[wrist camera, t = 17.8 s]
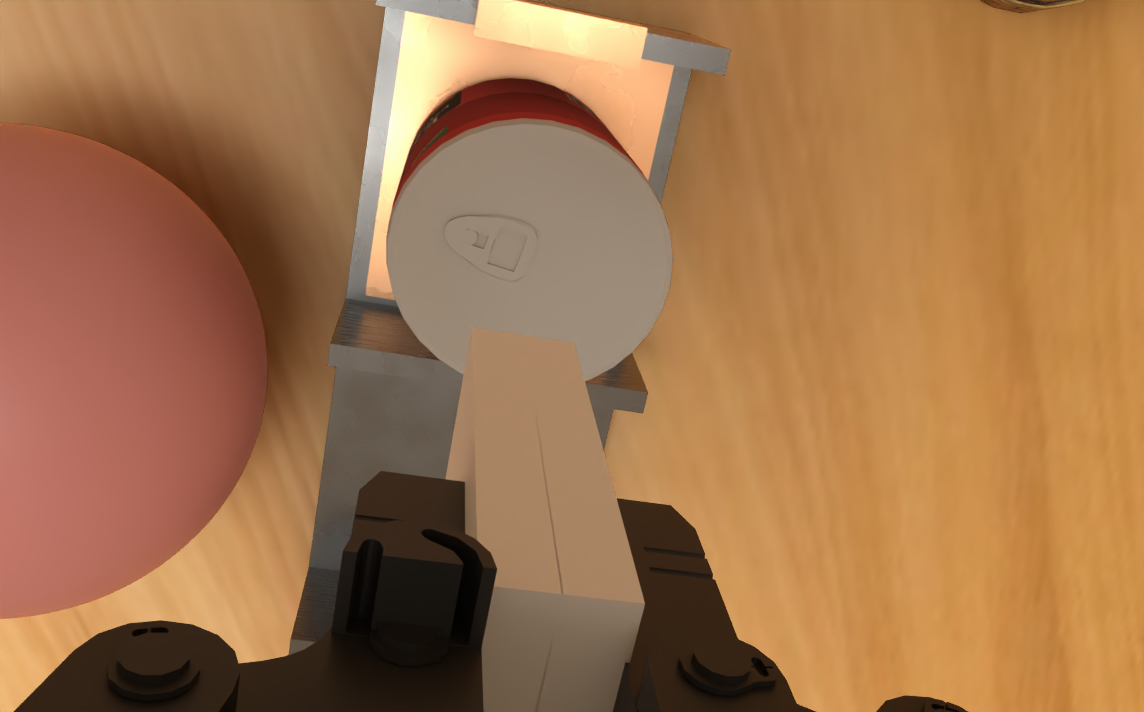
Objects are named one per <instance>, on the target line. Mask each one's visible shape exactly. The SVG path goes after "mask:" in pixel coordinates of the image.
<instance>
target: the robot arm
mask: <svg viewBox="0 0 1144 712" xmlns="http://www.w3.org/2000/svg"><path fill="white" fill-rule="evenodd" d="M712 577H713V573H712V571H711V568H710V566H709V563H708V561H707V559H705V553H704V550H703V548H702V545H701V543H700V540H699V537H698V535H697V532H696V530H695V528H694V527H693V526H691V525H690V524H689V523H688V522H687V521H686V520H685V519H684V518H683V517H682V516H681V515H680V514H679V513H678V512H677V511H676V510H675V509H674V508H673V507H672V506H671V505H663V504H656V503H648V502H640V501H633V500H625V499H617V498H616V495H615V491H614V487H613V484H612V480H611V476H610V473H609V469H608V465H607V461H606V458H605V454H604V450H603V447H602V443H601V439H600V436H599V432H598V428H597V424H596V421H595V417H594V413H593V410H592V406H591V402H590V399H589V395H588V391H587V388H586V384H585V380H584V376H583V373H582V369H581V365H580V362H579V358H578V354H577V351H576V347H575V343H572V342H565V341H559V340H552V339H546V338H539V337H532V336H526V335H519V334H513V333H506V332H500V331H493V330H487V329H480V328H473V327H472V329H471V335H470V341H469V346H468V352H467V358H466V364H465V369H464V375H463V381H462V387H461V392H460V398H459V404H458V409H457V415H456V421H455V427H454V432H453V438H452V444H451V450H450V455H449V461H448V467H447V473H446V478H445V479H440V478H432V477H424V476H417V475H409V474H401V473H393V472H386V471H380V472H379V473H378V474H377V475H376V476H375V477H373V478H372V479H371V480H370V481H369V482H368V483H366V484H365V485H364V486H363V487H362V488H361V489H360V490H359V494H358V500H357V505H356V511H355V517H354V522H353V527H352V533H351V538H350V539H349V541H348V543H347V544H346V546H345V548H344V550H343V553H342V560H341V567H340V574H339V581H338V588H337V595H336V602H335V609H334V616H333V623H332V627H331V628H330V629H329V630H328V632H327V633H326V634H325V635H324V636H323V637H322V638H321V639H320V640H318V641H317V642H315V643H314V644H312V645H311V646H309V647H307V648H306V649H304V650H301V651H298V652H296V653H293V654H290V655H288V656H285V657H280V658H275V659H270V660H265V661H258V662H249V663H240V664H238V661H237V657H236V653H235V651H234V650H233V649H232V648H231V647H230V646H229V645H228V644H227V643H226V642H225V641H224V640H223V639H221V638H220V637H219V636H218V635H216V634H214V633H211V632H209V631H207V630H204V629H202V628H199V627H197V626H195V625H192V624H184V623H177V622H169V621H150V622H140V623H129V624H126V625H123V626H120V627H117V628H114V629H111V630H108V631H105V632H102V633H99V634H97V635H95V636H94V637H93V638H91V639H90V640H88V641H87V642H85V643H84V644H83V645H81V646H80V647H78V648H77V649H75V650H74V651H73V652H72V653H71V654H70V655H69V656H68V657H67V658H66V659H65V660H64V661H63V662H62V663H61V664H60V665H59V666H58V667H57V668H56V669H55V670H54V671H53V672H52V673H51V674H50V675H49V676H48V677H47V678H46V679H45V681H44V682H43V683H42V684H41V685H40V686H39V687H38V688H37V689H36V690H35V691H34V692H33V693H32V694H31V695H30V696H29V697H28V698H27V699H26V700H25V701H24V702H23V703H22V704H21V705H20V706H19V707H18V708H17V709H16V710H15V711H14V712H815V711H813V710H810V709H808V708H805V707H803V706H800V705H798V704H797V703H796V701H795V699H794V697H793V694H792V692H791V690H790V687H789V685H788V683H787V680H786V679H785V677H784V676H783V674H782V673H781V671H780V670H779V669H778V667H777V666H776V664H775V663H774V662H773V661H772V660H771V659H769V658H768V657H767V656H765V655H764V654H763V653H762V652H760V651H759V650H758V649H756V648H755V647H754V646H752V645H749V644H747V643H745V642H743V641H741V640H739V639H738V638H737V635H736V633H735V630H734V628H733V625H732V622H731V620H730V617H729V615H728V612H727V610H726V607H725V604H724V602H723V599H722V597H721V594H720V592H719V589H718V586H717V584H716V581H715V580H713V579H712ZM877 712H968V711H966V710H964V709H963V708H961V707H959V706H957V705H954V704H951V703H949V702H947V703H946V702H944V701H942V700H938V699H933V698H930V697H918V696H902V697H898V698H894V699H891V700H887V701H885V703H884V704H883V705H882V706H881V707H880V708H879V709H878V711H877Z"/></svg>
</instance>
